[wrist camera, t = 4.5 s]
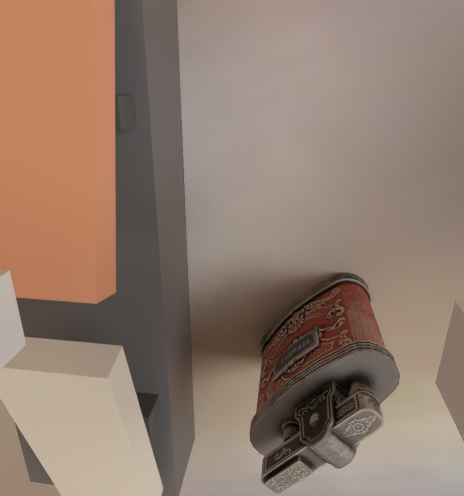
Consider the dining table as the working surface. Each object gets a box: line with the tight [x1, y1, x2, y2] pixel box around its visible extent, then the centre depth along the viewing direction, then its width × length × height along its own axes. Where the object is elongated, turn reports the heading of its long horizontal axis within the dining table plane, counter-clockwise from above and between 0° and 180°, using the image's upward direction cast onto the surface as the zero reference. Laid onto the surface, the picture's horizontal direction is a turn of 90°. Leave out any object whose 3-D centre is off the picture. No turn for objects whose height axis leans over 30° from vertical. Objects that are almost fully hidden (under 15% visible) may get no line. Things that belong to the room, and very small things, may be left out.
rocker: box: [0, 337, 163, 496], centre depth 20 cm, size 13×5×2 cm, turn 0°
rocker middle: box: [0, 0, 116, 304], centre depth 14 cm, size 13×5×2 cm, turn 0°
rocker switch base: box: [15, 0, 195, 496], centre depth 18 cm, size 50×10×7 cm, turn 0°
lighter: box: [250, 273, 400, 494], centre depth 20 cm, size 8×3×10 cm, turn 139°
